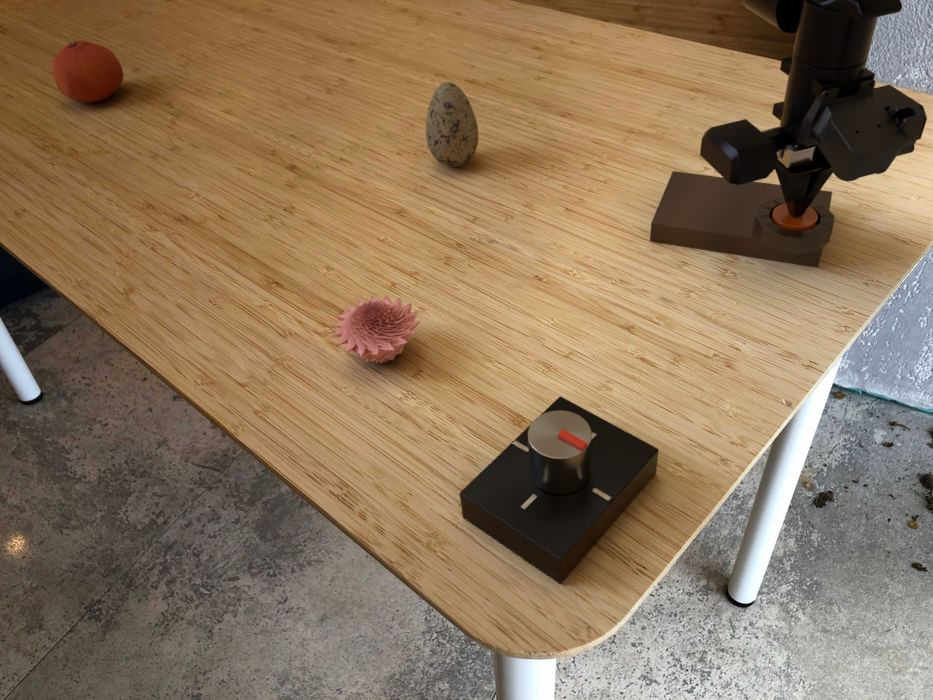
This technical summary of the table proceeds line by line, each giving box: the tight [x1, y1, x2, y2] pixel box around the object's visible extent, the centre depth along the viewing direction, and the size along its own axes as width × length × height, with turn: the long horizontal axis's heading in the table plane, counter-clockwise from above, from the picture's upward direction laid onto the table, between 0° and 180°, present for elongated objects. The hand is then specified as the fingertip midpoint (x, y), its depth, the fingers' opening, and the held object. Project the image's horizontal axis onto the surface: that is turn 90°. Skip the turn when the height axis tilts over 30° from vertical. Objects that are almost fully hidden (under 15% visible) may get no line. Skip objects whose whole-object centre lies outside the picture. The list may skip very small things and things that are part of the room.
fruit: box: [51, 39, 124, 103], centre depth 118 cm, size 9×9×8 cm
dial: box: [528, 410, 592, 495], centre depth 60 cm, size 4×4×4 cm
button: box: [771, 203, 818, 231], centre depth 80 cm, size 4×4×2 cm
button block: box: [649, 170, 836, 268], centre depth 84 cm, size 16×12×4 cm
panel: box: [459, 396, 660, 585], centre depth 62 cm, size 12×9×3 cm
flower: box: [328, 294, 421, 364], centre depth 75 cm, size 8×8×6 cm
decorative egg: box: [425, 81, 479, 168], centre depth 96 cm, size 6×6×10 cm
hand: (795, 214), depth 80 cm, fingers closed, pressing on button
